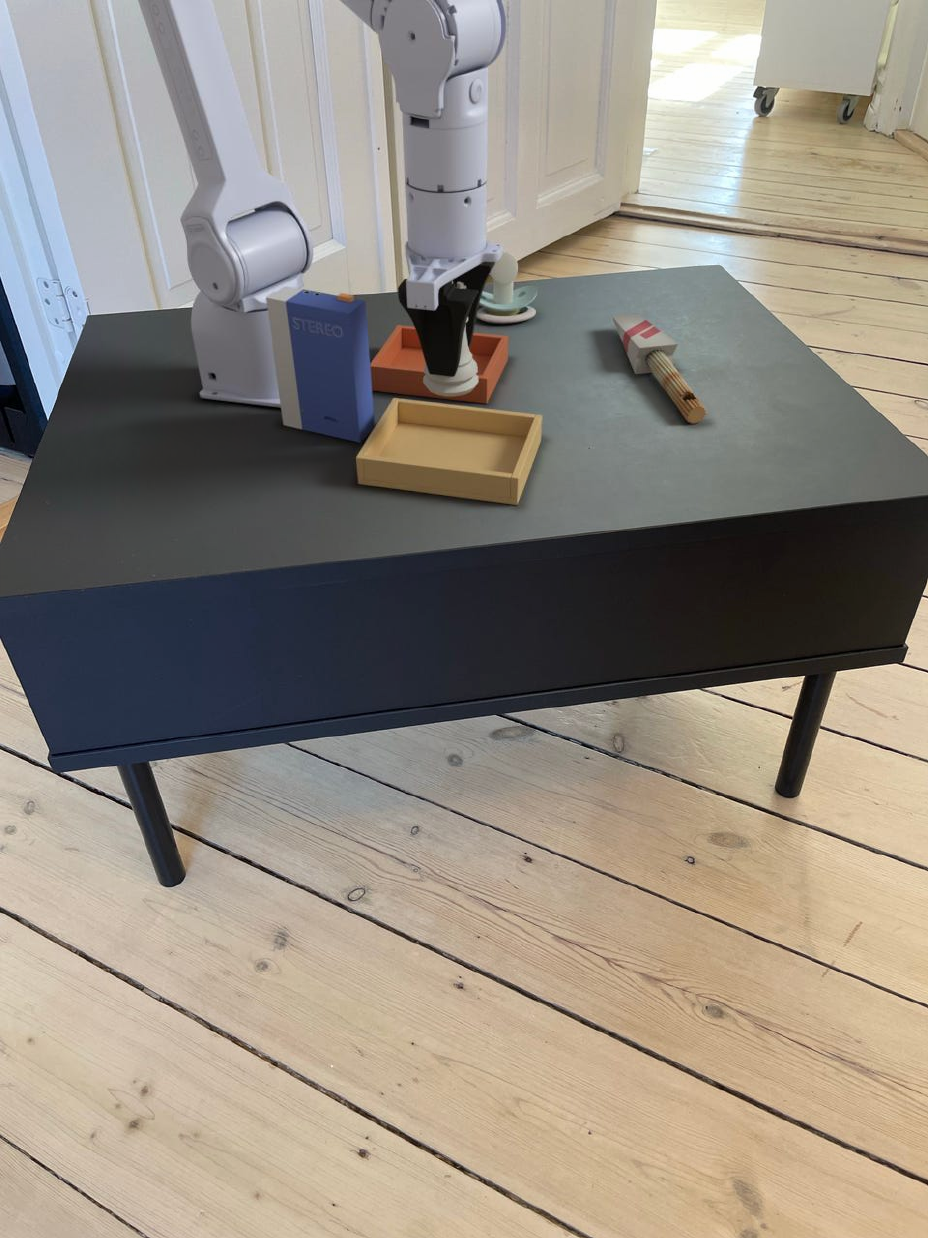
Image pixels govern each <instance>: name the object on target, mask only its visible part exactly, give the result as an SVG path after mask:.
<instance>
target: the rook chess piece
mask: <svg viewBox="0 0 928 1238" xmlns="http://www.w3.org/2000/svg"><path fill="white" fill-rule="evenodd" d="M452 284H453V281H452ZM456 288H459V289H466V286H464V283H461V282H457V287H456ZM467 321H468V317H467V320H466V322H467ZM477 372H478V367H477V363H476V362H475V361H474V360H473V359H472V354H471V353H470V351H469V348H468V344H467V337H466V324H465V329H464V334H463V341H462V349H461V357H460V362H459V367H458V370H457V373H456V375H455V376H454V377H450V376H441V375H432V374H429V371H428V368H427V365H426V362H425V365H424V373H425V374H426V375H425V376H424V378H423V383H424V384H425V385H426V386H427V388H428V389H429V390H430V391H431V392H433V393H435V394H437V395H441V396H460V395H465V394H467V393H469V392H471V391H472V390H473V388H474V387H475V386H476V385H477V383H478V376H477V375H476V373H477Z"/></svg>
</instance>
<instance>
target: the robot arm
mask: <svg viewBox="0 0 928 1238" xmlns="http://www.w3.org/2000/svg"><path fill="white" fill-rule="evenodd" d="M339 1H340V2H341V3H342V4H343V5H344V6H346V7H347V8H348V9H349V11H351V12H352V13H353V14H354V15H355V16H357V17H358V18H359V19H360V20H361V21H363V23H364V24H365V25H367V26H368V27H369V28H370V29H371V30H372V31H373V32H374V33H376V34H377V38H378V44H379V49H380V52H381V54H382V57H383V60H384V62H385V64H386V66H387V68H388V69H389V72H390V73H391V75H392V78H393V81H394V86H395V87H394V89H395V103H397V104H398V106H399V111H400V112H401V113H402V114H401V117H402V119H401V120H402V139H403V142H402V143H403V162H404V186H405V187H404V190H405V192H404V193H405V209H406V211H405V212H406V233H407V241H406V242H405V245H404V252H405V253H404V255H405V260H406V261H405V262H406V265H407V272H408V277H407V278H404V279H403V280H402V282H401V283H400V285H398V287H397V295H398V296H397V297H398V301H399V303H400V305H401V307H402V308H403V309H404V310H405V312H406V313H407V315H408V316H409V318H410V320H411V323H412V326H413V327H415V329H416V332H417V334H418V337H419V341H420V344H421V348H422V351H423V355H424V359H425V362H426V365H427V368H428V371H429V374H432V375H441V376H450V377H454V376H455V375H456V373H457V370H458V367H459V362H460V357H461V349H462V341H463V334H464V329H465V324H466V337H467V344H468V348H470V345H471V341H472V337H473V333H475V332H474V330H475V325H476V322H477V321H476V320H477V311H478V310H479V306H480V304H479V302H480V299H481V295H482V292H484V290H485V286H486V283H487V281H488V279H489V276H490V275H491V274H490V272H491V270H492V268H493V266H494V265H495V262H497V261H499V260H500V258H501V256H502V255H503V251H504V245H503V244H502V243H498V242H491V241H489V239H488V236H487V231H488V230H487V224H488V155H489V154H488V148H489V147H488V146H489V145H488V143H489V142H488V141H489V139H488V138H489V122H488V121H489V66H491V65H492V64H493V63H494V62H496V60H497V59H498V57H499V56H500V54H501V53H502V50H503V48H504V45H505V43H506V36H507V32H508V31H507V30H508V29H507V28H508V21H507V19H508V18H507V12H506V7H505V3H504V1H503V0H339ZM137 2H138V4H139V7H140V11H141V13H142V16H143V19H144V22H145V26H146V29H147V32H148V34H149V38H150V42H151V45H152V47H153V50H154V53H155V56H156V59H157V62H158V65H159V68H160V71H161V75H162V78H163V81H164V85H165V87H166V89H167V90H166V91H167V93H168V96H169V99H170V103H171V106H172V108H173V110H174V114H175V116H176V120H177V124H178V126H179V130H180V133H181V136H182V139H183V141H184V145H185V148H186V151H187V154H188V158H189V160H190V163H191V166H192V169H193V173H194V175H195V178H196V181H197V186H196V188H195V190H194V192H193V194H192V196H191V197H190V199H189V201H188V203H187V204H186V206H185V208H184V210H183V211H182V213H181V216H180V224H181V226H182V229H183V233H184V236H185V242H186V257H187V266H188V269H189V273H190V275H191V278H192V280H193V282H194V283H195V286H196V287H197V288H198V289H199V290H200V291H199V292H198V294H197V295H196V297H195V299H194V301H193V303H192V309H191V318H190V326H191V327H190V329H191V335H192V339H193V340H192V341H193V346H194V351H195V356H196V361H197V366H198V372H199V377H200V380H201V386H202V389H201V390H200V391H199V397H200V398H201V399H206V400H213V401H214V400H215V401H222V402H231V403H238V404H248V405H257V406H264V407H271V408H273V407H274V408H280V409H281V404H280V397H279V390H278V383H277V376H276V369H275V362H274V355H273V348H272V336H271V329H270V322H269V315H268V308H267V301H266V297H267V296H268V295H270V294H271V293H273V292H274V291H275V292H277V291H278V290H280V289H281V288H283V287H284V286H288V287H293V288H298V289H302V288H303V287H305V285H304V276H303V275H304V274H305V273H306V272H307V271H309V269H310V268H311V265H312V264H313V259H314V243H313V239H312V235H311V232H310V229H309V227H308V226H307V223H306V222H305V220H304V218H303V217H302V215H301V214H300V212H299V210H298V208H297V206H296V204H295V201H294V198H293V194H292V191H291V188H290V187H289V186H288V184H286V183H285V182H283V181H281V180H280V179H278V178H276V177H275V176H274V175H272V174H270V173H268V172H267V171H265V170H264V169H263V168H262V165H261V162H260V158H259V155H258V151H257V148H256V144H255V142H254V138H253V134H252V131H251V128H250V124H249V121H248V118H247V113H246V111H245V107H244V104H243V100H242V97H241V93H240V90H239V87H238V84H237V80H236V76H235V72H234V70H233V67H232V63H231V60H230V56H229V53H228V50H227V46H226V42H225V39H224V36H223V32H222V28H221V26H220V23H219V18H218V15H217V12H216V9H215V5H214V2H213V0H137ZM253 210H254V211H253ZM250 211H252V212H250ZM247 212H249V213H247ZM244 213H247V214H244ZM242 214H244V215H242ZM239 215H242V216H239ZM236 216H239V217H236ZM234 217H235V218H234ZM452 281H453V284H452ZM457 282H461V283H464V286H466V289H459V288H456V287H457ZM467 317H468V321H467V322H466V320H467Z"/></svg>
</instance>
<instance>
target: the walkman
mask: <svg viewBox="0 0 928 1238" xmlns="http://www.w3.org/2000/svg"><path fill="white" fill-rule="evenodd" d="M354 296H355V295H354V294H350V293H349V294H348V293H344V292H340V293H339V294H338V295H337V294H331V293H325V292H320V291H315V290H309V289H304V288H300V289H298V288H293V287H288V286H284V287H283V288H281V289H280V290H278V291H277V292H275V291H274V292H273V293H271V294H270V295H268V296H267V297H266V301H267V308H268V315H269V322H270V329H271V336H272V348H273V355H274V362H275V369H276V376H277V383H278V390H279V397H280V404H281V408H280V410H281V418H282V424H283V426H286V427H291V428H294V429H299V430H304V431H307V432H312V433H316V434H321V435H325V436H328V437H332V438H333V437H334V438H338V439H341V440H346V441H351V442H355V443H359V444H360V443H361V442H362V441H364V440H365V439H366V438H367V437H368V436H370V434H371V433H372V431H373V430H374V428H375V426H376V423H375V411H374V410H375V409H374V398H373V397H374V396H373V391H372V382H371V369H370V364H371V357H370V355H371V354H370V342H369V331H368V330H369V329H368V317H367V302H366V300H364V299H358V298H355V297H354Z"/></svg>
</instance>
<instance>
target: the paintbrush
mask: <svg viewBox="0 0 928 1238" xmlns="http://www.w3.org/2000/svg"><path fill="white" fill-rule="evenodd" d="M611 318H612V321H613V324H614V326H615V328H616V330H617V333H618V335H619V338H620V339H621V340H620V341H621V342H622V346H623V348H624V351H625V352H626V355H627V357H628V360H629V363H630V365H631V367H632V370H633V372H634V374H635V375H642V374H651V373H653V375H654V376H655V377H656V379H657V380H658V382H659V383H660V384H661V386H662V388H663V389H664V391H665V392H666V394H667V395H668V396H669V397H670V399H671V400H672V402H673V403H674V405H675V406H676V407H677V409H678V410H679V411H680V414H682V417H684V419H685V420H686V421H687V423H690V424H697V423H700V422H701V421H703V420H704V419H705V418H706V415H707V409H706V408H705V406H704V405H703V404H702V403H701V401H700V400H699V398H698V397H697V396H696V394H695V393H694V392H693V390H692V389H691V387H690V386H689V385H688V384H687V382H686V381H685V379H684V378H683V376H682V375H681V373H680V372H679V371H678V370H677V368H676V367H675V366H674V353H675V351H676V349H677V347H678V345H679V344H678V343H677V342H676V341H674V340H673V339H671V337H669V336H668V335H667V334H665V332H663V331H661V330H660V329H659V328H657V327H656V326H655V325H654V324H652V323H651V322H650V321H649V320H647V319H646V318H644V317H643V316H641V315H640V314H639V313H638V312H635V313H626V314H614V315H611Z"/></svg>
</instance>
